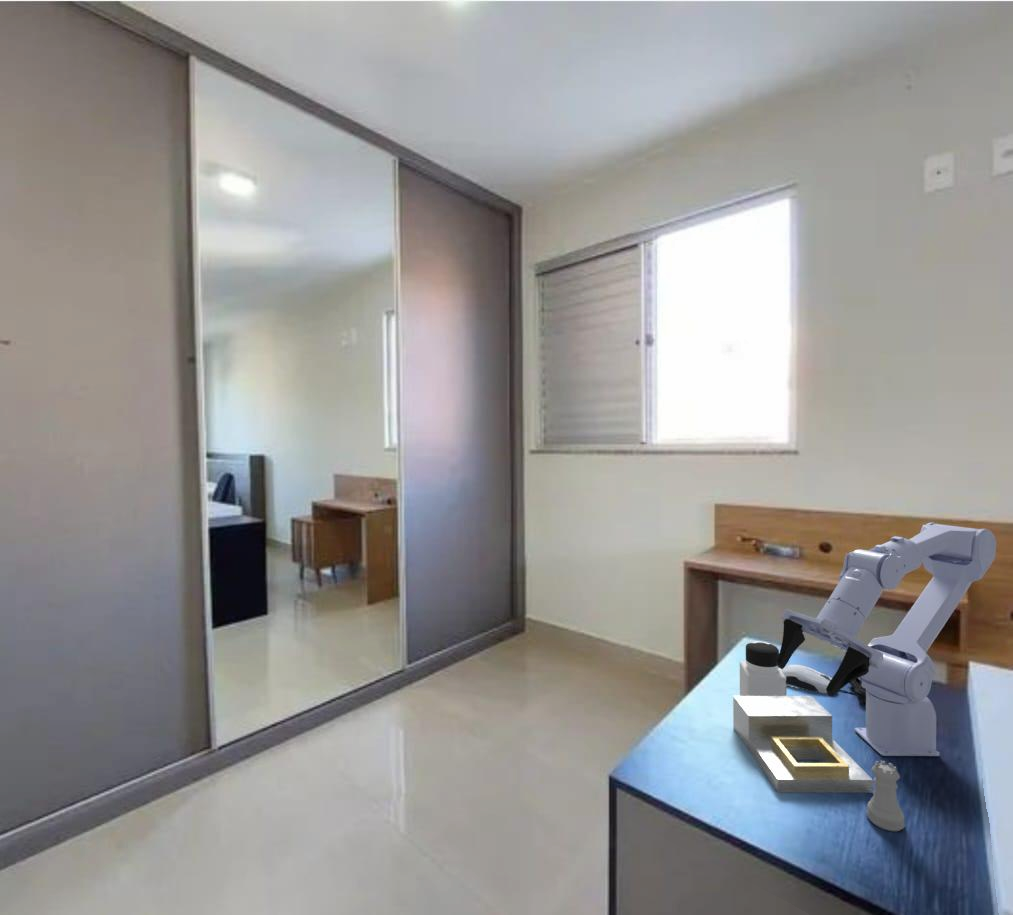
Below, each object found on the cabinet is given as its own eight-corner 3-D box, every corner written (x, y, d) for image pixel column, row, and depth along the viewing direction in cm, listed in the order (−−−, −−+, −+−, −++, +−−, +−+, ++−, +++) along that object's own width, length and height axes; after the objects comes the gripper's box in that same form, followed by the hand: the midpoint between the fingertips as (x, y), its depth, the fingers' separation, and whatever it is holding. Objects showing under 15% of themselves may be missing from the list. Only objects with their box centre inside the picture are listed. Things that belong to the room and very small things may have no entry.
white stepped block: (810, 727, 99) (810, 695, 99) (872, 792, 81) (873, 754, 81) (733, 727, 100) (733, 696, 100) (777, 792, 82) (777, 753, 82)
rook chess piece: (906, 838, 72) (907, 780, 72) (866, 825, 75) (866, 769, 74) (903, 817, 76) (903, 762, 76) (865, 806, 78) (865, 752, 78)
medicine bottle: (787, 714, 104) (786, 653, 104) (747, 711, 106) (747, 650, 105) (776, 696, 111) (776, 639, 111) (739, 693, 113) (739, 637, 112)
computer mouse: (773, 670, 124) (773, 653, 124) (869, 689, 114) (869, 670, 114) (768, 689, 115) (768, 670, 115) (871, 710, 106) (871, 690, 105)
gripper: (796, 578, 91) (753, 642, 87) (895, 619, 80) (850, 695, 76) (803, 600, 95) (762, 662, 91) (898, 642, 84) (856, 715, 80)
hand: (803, 679), depth 84 cm, fingers open, 7 cm apart
